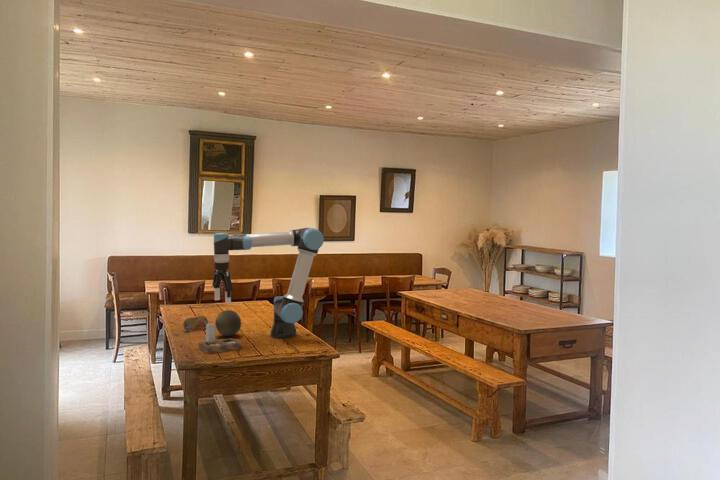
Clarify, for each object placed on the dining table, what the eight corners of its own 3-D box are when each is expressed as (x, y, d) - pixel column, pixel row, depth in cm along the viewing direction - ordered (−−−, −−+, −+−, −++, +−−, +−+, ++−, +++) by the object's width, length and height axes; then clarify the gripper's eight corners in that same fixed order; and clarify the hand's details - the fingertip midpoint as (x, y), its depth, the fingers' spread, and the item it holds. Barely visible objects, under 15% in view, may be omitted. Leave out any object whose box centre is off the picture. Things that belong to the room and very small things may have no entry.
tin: (185, 332, 305) (185, 318, 304) (182, 331, 307) (182, 317, 307) (208, 329, 316) (208, 315, 315) (205, 328, 318) (205, 314, 318)
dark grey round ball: (218, 333, 304) (218, 308, 304) (242, 333, 305) (243, 308, 304) (212, 339, 290) (213, 312, 289) (238, 339, 291) (238, 313, 290)
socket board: (231, 343, 282) (231, 337, 282) (241, 348, 272) (241, 342, 271) (198, 348, 271) (198, 341, 271) (208, 353, 261) (208, 347, 261)
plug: (212, 347, 273) (212, 323, 272) (214, 349, 270) (215, 324, 269) (206, 348, 270) (206, 323, 270) (208, 350, 268) (208, 325, 267)
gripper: (205, 260, 282) (206, 299, 284) (225, 264, 263) (226, 306, 264) (218, 259, 287) (219, 297, 288) (238, 263, 268) (239, 304, 269)
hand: (222, 301), depth 276 cm, fingers open, 13 cm apart
